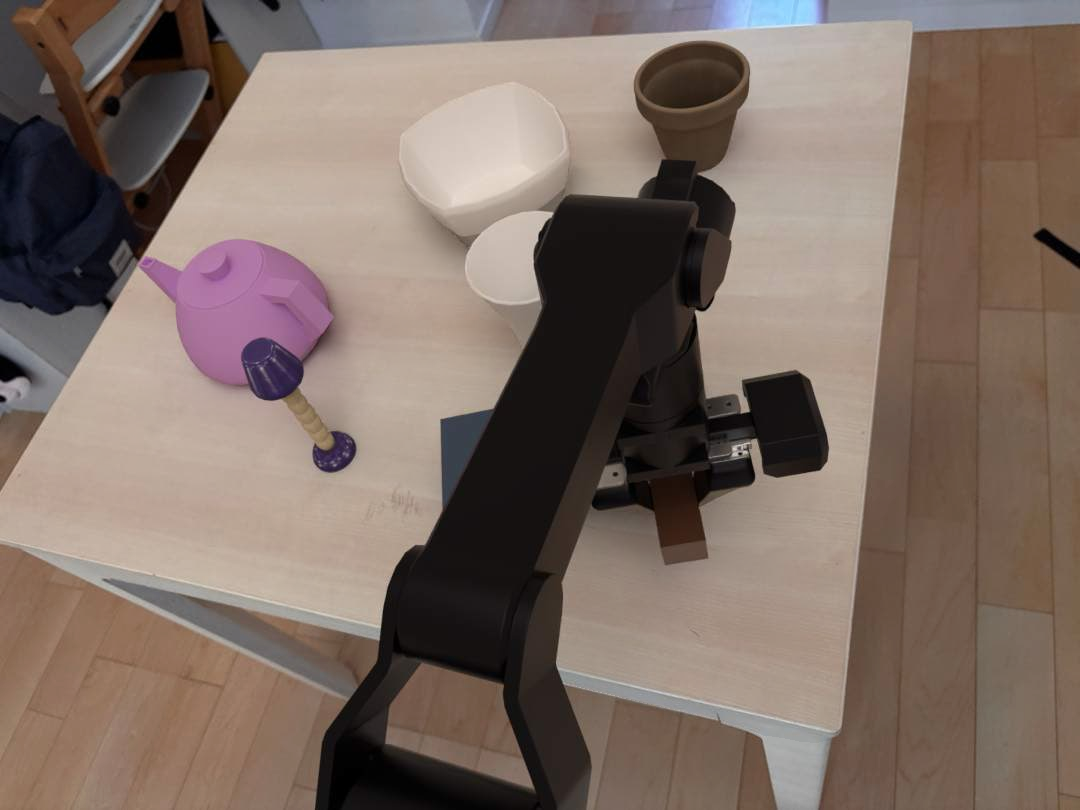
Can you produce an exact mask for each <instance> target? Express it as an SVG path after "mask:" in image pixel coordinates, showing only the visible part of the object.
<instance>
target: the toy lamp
mask: <svg viewBox="0 0 1080 810" xmlns="http://www.w3.org/2000/svg"><path fill="white" fill-rule="evenodd" d="M241 361H242V365H243V368H244V371H245V374H246V377H247V380H248V383H249V384H248V386H249V388H250V391H251V392H252V394H253V395H254V396H255V397H257V398H258V399H260V400H263V401H267V402H274V401H279V400H282V401H283V402H284V403H285V404H286V406H287V408H288V410H290V411H291V412H292V413H293V416H294V417H295V419H296V420H297V421H298V422H300V424H301V427H302V428H303V430H305V431H306V432H307V434H308V436H309V437H310V439H311V440H313V441H314V443H313V446H312V451H311V452H312V453H311V456H312V460H313V463H314V465H315V467H317V468H318V469H319V470H321V471H322V472H326V473H335V472H338V471H341V470H343V469H345V468H346V467H348V465H349V464H350V463H351V462H352V460H353V459H354V458H355V455H356V451H357V445H356V442H355V440H354V438H353V437H352V436H350V435H349V434H347V433H345V432H343V431H339V430H332V431H329V430H328V426H327V425H326V424H325V423H324V422H323V421H322V418H321V417H320V415H319V414H318V413H317V412H316V410H315V408H314V407H313V406H312V404H311V403H309V401H308V399H307V397H306V396H305V395H304V394H302V392H301V389H300V388H299V386H300V385H301V383H302V381H303V379H304V375H305V374H304V373H305V370H304V369H305V368H304V365H303V363H302V361H300V360H299V359H298V358H297V357H296V356H295V355H294V354H292V353H291V352H290V351H288V350H287V349H285V348H284V347H282V346H281V345H280V344H278V343H277V342H275V341H274V340H272V339H269V338H265V337H261V338H257V339H254V340H252V341H251V342H249V343H248V344H247V345H246V346H245V347H244V349H243V351H242V353H241Z"/></svg>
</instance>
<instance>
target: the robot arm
mask: <svg viewBox="0 0 1080 810" xmlns="http://www.w3.org/2000/svg"><path fill="white" fill-rule="evenodd" d="M736 213H737V207H736V202H735V201H734V200H732V198H731V196H730V194H728V192H726V190H725V189H724V188H723V187H722V186H720V185H719V184H718V183H717V182H715V181H714V180H712V179H710V178H708V177H706V176H703V175H701V174H699V171H698V166H697V161H694V160H672V159H667V158H662V159H661V161H660V164H659V167H658V170H657V173H656V176H652V177H651V178H650V179H648V180H647V181H646V182H644V183H643V185H642V186H641V188H640V189H639V191H638V194H637V197H630V196H629V197H627V196H611V195H595V194H576V193H575V194H572V193H570V194H568V195H566V196H564V197H563V200H562V201H561V202H560V203H559V204H558V206H557V207H556V209H555V211H554V213H553V215H552V218H549V219H548V220H547V221H546V222H545V224H544V226H543V228H542V230H541V231H540V232H539V234H538V242H537V243H536V245H535V248H534V253H533V260H534V264H533V265H534V271H535V276H536V281H537V286H538V290H539V295H540V300H541V305H542V309H541V311H540V314H539V317H538V319H537V322H536V324H535V327H534V329H533V331H532V333H531V335H530V337H529V339H528V341H527V343H526V345H525V347H524V349H523V351H522V350H521V353H520V355H519V357H518V359H517V360H516V363H515V365H514V366H513V368H512V370H511V373H510V375H509V377H508V379H507V381H506V382H505V385H504V387H503V388H502V391H501V392H500V395H499V397H498V399H497V400H496V403H495V405H494V406H493V408H492V409H493V410H492V412H491V414H490V416H489V418H488V420H487V422H486V424H485V426H484V428H483V430H482V432H481V434H480V436H479V438H478V440H477V442H476V444H475V446H474V448H473V450H472V452H471V454H470V456H469V458H468V460H467V462H466V464H465V466H464V468H463V470H462V472H461V474H460V476H459V478H458V480H457V482H456V484H455V486H454V488H453V490H452V492H451V494H450V496H449V498H448V500H447V502H446V504H445V506H444V508H443V510H442V509H441V510H442V511H441V512H440V514H439V516H438V518H437V521H436V522H435V524H434V527H433V528H432V530H431V531H430V534H429V536H428V538H427V540H426V543H425V544H415V545H413V546H412V547H410V548H409V549H408V550H406V551H405V552H404V553H403V555H402V556H401V558H400V560H399V561H398V562H397V564H396V565H395V567H394V569H393V572H392V575H391V577H390V578H389V582H388V585H387V586H386V593H385V596H384V602H383V605H382V612H381V613H382V614H381V622H380V623H381V624H380V631H379V640H378V650H377V657H376V661H375V664H374V665H373V666H372V668H371V669H370V670H369V672H368V673H367V674H366V676H365V677H364V678H363V680H362V681H361V683H360V684H359V686H358V687H357V688H356V689H355V691H354V692H353V694H352V695H351V696H350V698H349V699H348V701H346V703H345V704H344V706H343V707H342V708H341V710H340V711H339V713H338V714H337V715H336V717H335V718H334V719H333V721H332V722H331V724H330V725H329V727H327V729H326V731H325V732H324V735H323V738H322V741H321V747H320V756H319V765H318V774H317V784H316V794H315V803H314V810H587V807H588V801H589V792H590V785H591V778H592V771H593V763H592V756H591V754H590V751H589V748H588V745H587V742H586V740H585V738H584V734H583V733H582V730H581V726H580V724H579V722H578V719H577V717H576V714H575V712H574V708H573V706H572V703H571V701H570V698H569V696H568V693H567V689H566V687H565V685H564V682H563V679H562V677H561V674H560V671H559V669H558V666H557V658H558V651H559V650H558V649H559V642H560V635H561V626H562V618H563V610H564V609H563V608H564V606H563V605H564V591H563V590H564V589H563V581H564V578H565V576H566V573H567V570H568V568H569V565H570V561H571V560H572V557H573V554H574V552H575V549H576V545H577V543H578V541H579V538H580V535H581V533H582V530H583V527H584V524H585V522H586V519H587V516H588V514H589V512H590V509H591V507H592V509H593V510H595V511H597V512H607V511H613V512H614V511H615V512H629V513H630V512H631V513H638V514H645V515H655V514H654V508H653V502H652V496H651V490H650V484H649V481H647V480H649V479H655V478H660V477H666V476H672V475H678V474H683V473H689V472H692V474H693V479H694V484H695V489H696V493H697V498H698V503H699V507H702V506H705V505H707V504H709V503H710V502H713V501H714V500H716V499H718V498H720V497H722V496H724V495H727V494H729V493H732V492H735V491H736V490H738V489H739V490H740V489H743V488H747V487H751V486H752V485H753V484H754V483H755V481H756V471H755V467H754V463H753V459H752V455H751V451H750V450H752V449H753V443H752V440H756V442H757V445H758V446H757V447H758V450H759V454H760V457H761V469H762V473H763V475H766V476H769V477H773V478H776V479H779V478H785V477H790V476H791V477H792V476H795V475H796V476H797V475H804V474H809V473H815V472H820V471H822V469H823V468H824V467H825V465H826V464H827V463H828V461H829V452H830V445H829V439H828V433H827V430H826V426H825V423H824V420H823V417H822V413H821V410H820V407H819V404H818V400H817V397H816V394H815V391H814V388H813V384H812V381H811V379H810V378H809V377H808V376H807V375H805V374H804V373H802V372H800V371H799V370H797V369H792V370H787V371H783V372H777V373H770V374H766V375H761V376H755V377H750V378H743V379H741V390H742V392H743V393H742V394H743V397H744V398H745V399H746V403H747V406H748V410H749V411H747V412H742V406H741V403H740V399H739V395H738V394H736V393H730V394H724V395H719V396H714V397H708V398H707V397H706V386H705V379H704V377H705V376H704V370H703V363H702V362H703V361H702V353H701V346H700V345H701V344H700V336H699V327H698V319H697V318H698V317H697V314H696V311H698V312H702V313H705V312H706V311H707V310H708V309H709V308H710V307H711V305H712V304H713V303H714V300H715V297H716V294H717V291H718V290H719V288H720V287H721V286H722V284H723V282H724V280H725V277H726V273H727V269H728V266H729V262H730V258H731V255H732V254H731V253H732V243H733V241H732V240H731V239H730V238H731V235H732V230H733V227H734V223H735V220H736ZM421 664H424V665H428V666H432V667H435V668H439V669H443V670H447V671H450V672H453V673H457V674H461V675H465V676H468V677H473V678H476V679H479V680H483V681H487V682H491V683H493V684H498V685H502V686H503V688H502V700H503V707H504V710H505V712H506V715H507V718H508V721H509V724H510V727H511V729H512V731H513V734H514V738H515V740H516V743H517V745H518V748H519V750H520V753H521V756H522V758H523V761H524V764H525V767H526V769H527V772H528V775H529V778H530V780H531V783H532V786H533V788H532V787H530V786H526V785H523V784H519V783H517V782H513V781H510V780H507V779H504V778H501V777H497V776H494V775H491V774H489V773H484V772H483V771H482V772H481V771H479V770H475V769H472V768H468V767H466V766H462V765H460V764H459V765H458V764H455V763H452V762H449V761H446V760H443V759H440V758H436V757H434V756H430V755H427V754H425V753H421V752H418V751H415V750H411V749H408V748H405V747H401V746H398V745H396V744H392V743H386V742H387V741H386V740H387V731H388V723H389V714H390V707H391V704H392V703H393V702H394V701H395V699H396V698H397V697H398V695H400V693H401V691H402V690H403V689H404V687H405V686H406V685H407V683H408V682H409V681H410V680H411V679H412V677H413V675H414V674H415V673H416V671H417V670H418V669H419V667H420V666H421Z"/></svg>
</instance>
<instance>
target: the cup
mask: <svg viewBox="0 0 1080 810" xmlns="http://www.w3.org/2000/svg"><path fill="white" fill-rule="evenodd" d="M552 215H553V213H552V212H545V211H529V212H521V213H518V214H514V215H511V216H507V217H505V218H503V219H501V220H499V221H497V222H495V223H494V224H492V225H491V226H490V227H488V228H487V229H486V230H484V231H483V232H482V233H481V234H480V235H479V236H478V237H477V239H476V240H475V241H474V242H473V244H472V246H471V247H470V248H469V249H468V251H467V253H466V256H465V262H464V274H465V280H466V281H467V283H468V285H469V287H470V288H471V290H472V291H474V292H475V294H477V296H479V297H480V298H481V299H482V300H483V301H484V302H486V303H487V304H488V306H489V307H491V308H492V309H493V310H494V311H495V312H496V313H497V314H498V315H499V316H500V317H501V318H502V319H503V320H504V321H505V322H506V323H507V325H508V326H509V327H510V329H511V330H512V331H513V333H514V335H515V337H516V339H517V341H518V342H519V345H520V348H521V352H522V351H523V349H524V347H525V345H526V343H527V341H528V339H529V337H530V335H531V333H532V331H533V329H534V327H535V324H536V322H537V319H538V317H539V314H540V311H541V309H542V305H541V300H540V295H539V290H538V286H537V281H536V276H535V271H534V265H533V264H534V260H533V253H534V248H535V245H536V243H537V242H538V234H539V232H540V231H541V230H542V228H543V226H544V224H545V222H546V221H547V220H548V219H549V218H552Z"/></svg>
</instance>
